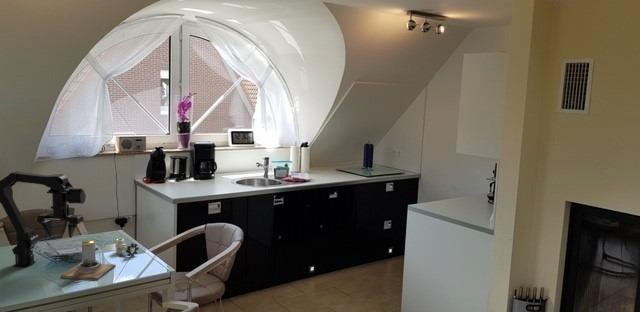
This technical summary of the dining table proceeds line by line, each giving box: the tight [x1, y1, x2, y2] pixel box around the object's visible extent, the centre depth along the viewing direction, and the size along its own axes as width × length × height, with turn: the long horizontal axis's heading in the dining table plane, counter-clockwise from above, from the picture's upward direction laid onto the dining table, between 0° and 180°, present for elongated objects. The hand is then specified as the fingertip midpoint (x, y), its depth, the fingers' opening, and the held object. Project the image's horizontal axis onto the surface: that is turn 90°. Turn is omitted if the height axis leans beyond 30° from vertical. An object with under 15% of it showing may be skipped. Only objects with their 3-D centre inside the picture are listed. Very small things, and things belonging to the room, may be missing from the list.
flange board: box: [60, 260, 117, 281], centre depth 220 cm, size 16×16×4 cm
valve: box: [115, 237, 139, 258], centre depth 244 cm, size 7×7×12 cm
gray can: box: [81, 239, 96, 267], centre depth 219 cm, size 5×5×12 cm
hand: (60, 237), depth 225 cm, fingers open, 9 cm apart
